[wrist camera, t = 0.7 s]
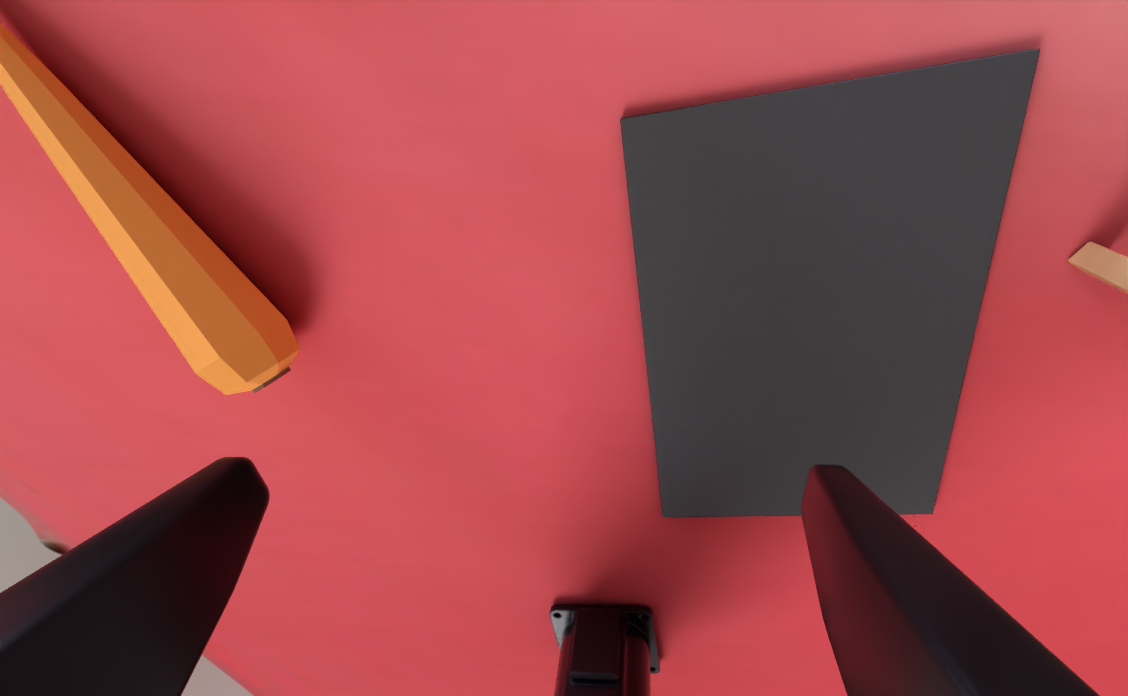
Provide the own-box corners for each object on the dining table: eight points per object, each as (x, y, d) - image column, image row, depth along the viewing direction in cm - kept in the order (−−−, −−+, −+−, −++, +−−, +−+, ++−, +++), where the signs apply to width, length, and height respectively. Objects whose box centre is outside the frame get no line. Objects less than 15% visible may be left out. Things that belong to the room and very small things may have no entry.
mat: (930, 509, 26) (932, 514, 25) (662, 513, 28) (663, 517, 28) (1034, 48, 16) (1040, 48, 16) (620, 118, 19) (620, 119, 19)
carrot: (328, 344, 26) (298, 368, 22) (252, 391, 26) (206, 424, 22) (17, -64, 21) (-105, -140, 17) (-79, -6, 21) (-227, -67, 17)
